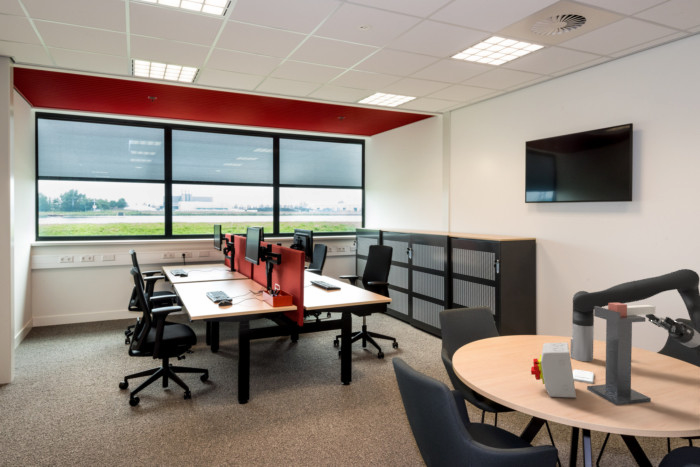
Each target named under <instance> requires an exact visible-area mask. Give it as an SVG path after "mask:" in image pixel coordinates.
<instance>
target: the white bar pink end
mask: <svg viewBox="0 0 700 467" xmlns="http://www.w3.org/2000/svg"><path fill="white" fill-rule="evenodd" d="M607 309H609V310H613V311H617V312H620V316H628V315H637V316H642V315H643V316H644V315H646V314H653V315H655V314H656V306H655V305H651V304H639V305H638V304H637V305H627V303H623V304H622V303H608V306H607Z"/></svg>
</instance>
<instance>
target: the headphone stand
mask: <svg viewBox="0 0 700 467" xmlns="http://www.w3.org/2000/svg"><path fill="white" fill-rule="evenodd" d="M594 317H596V318H600V319H602V320H606V322H605V324H606V325H605V326H606V328H605V333H606V335H605V340H606V341H605V384H595V385H594V384H592V385H587V386H586V389H587V391H589V392H591V393H593V394H594V395H597V396H598V397H600V398H601V399H603V400H606V401H607V402H609V403H611V404H613V405H614V406H623V405H624V406H625V405H634V404H644V403H651V402H652V401H651V400H652V399H651V397H650V396H648V395H645V394H643V393H641V392H638V391H637V390H634V389H633V388H632V352H633V351H632V347H633V346H632V344H633V343H632V341H633V337H632V336H633V323H642V322H643V323H644V322H646V316H645V317H644V316H642V315H628V316H620V312H617V311H613V310H609V309H608V308H605V307H598V306H594Z"/></svg>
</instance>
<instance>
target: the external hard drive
mask: <svg viewBox="0 0 700 467" xmlns="http://www.w3.org/2000/svg"><path fill="white" fill-rule="evenodd" d="M572 373H573V379H574V382H580V383H584V384H585V383H586V384H591V385H594V379H595V378H594V377H595V373H594V372H593V371H587V370H582V369H581V370H580V369H576V368H575V369H572Z"/></svg>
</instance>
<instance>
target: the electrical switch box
mask: <svg viewBox="0 0 700 467" xmlns="http://www.w3.org/2000/svg"><path fill="white" fill-rule="evenodd" d="M532 360H533V362H532V363H533V366H531V367H530V375H531V376H535V380H537V381H538V380H539V381H541V380H542V385H544V388H545V390H546V392H547V393H548V395H549V397H551V398H576V397H577V396H576V394H577V393H576V386H575V381H574V379H573V367H572V360H571V357H570V348H569V342H567V341H566V342H544V343H543V345H542V349H541V354H539V359H538V358H533V359H532Z"/></svg>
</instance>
